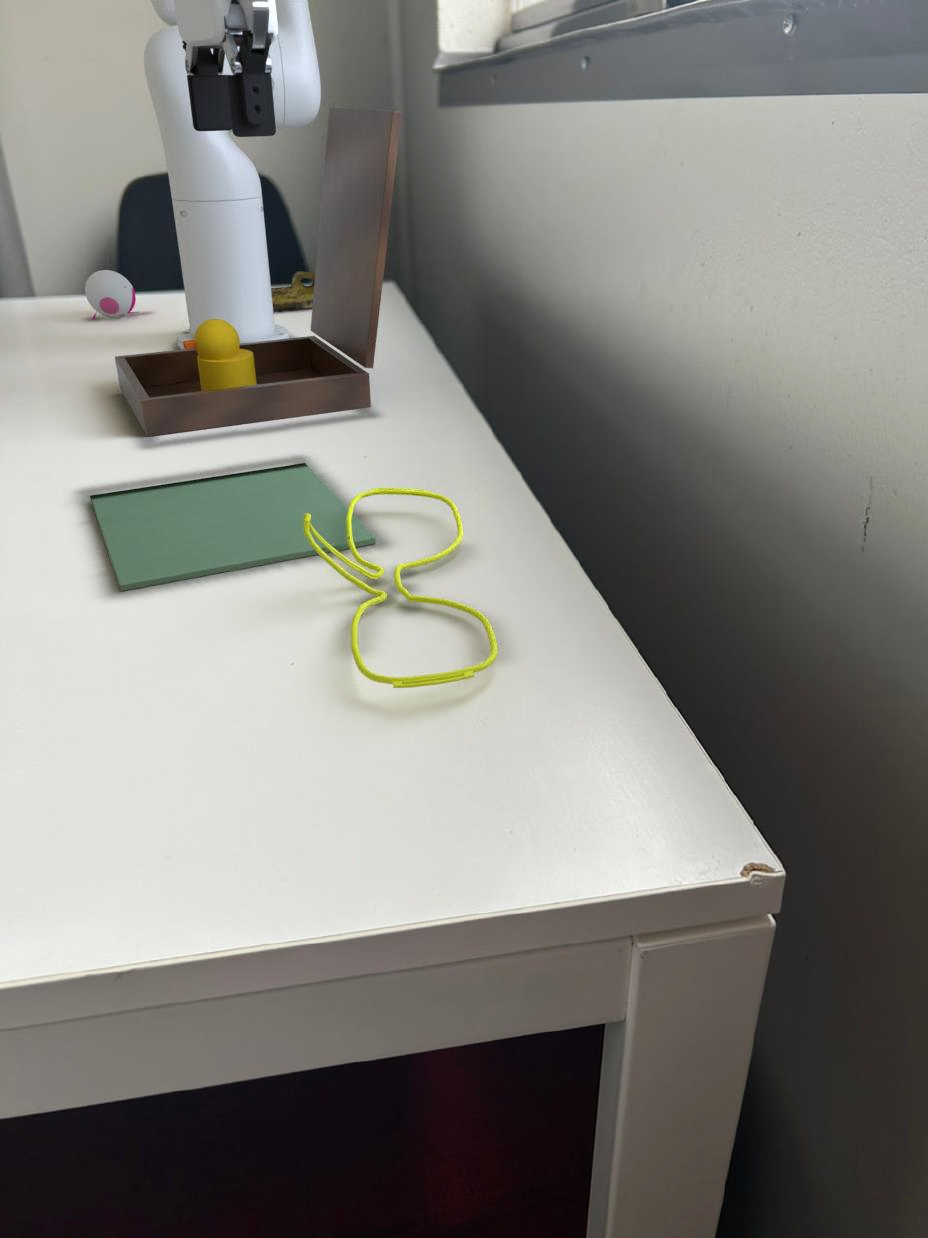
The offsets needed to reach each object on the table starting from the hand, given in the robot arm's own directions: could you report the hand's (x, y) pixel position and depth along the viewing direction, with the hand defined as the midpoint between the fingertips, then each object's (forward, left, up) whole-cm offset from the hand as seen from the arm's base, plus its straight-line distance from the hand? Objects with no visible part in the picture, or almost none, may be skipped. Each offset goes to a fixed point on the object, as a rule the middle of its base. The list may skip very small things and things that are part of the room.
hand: (233, 132), depth 77 cm
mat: (+21, -8, -23) cm, 32 cm away
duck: (-5, -2, -22) cm, 23 cm away
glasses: (+36, -2, -23) cm, 43 cm away
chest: (-5, -1, -23) cm, 24 cm away
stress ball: (-52, -6, -23) cm, 58 cm away
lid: (-5, +10, -9) cm, 15 cm away
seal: (-50, +14, -23) cm, 57 cm away
